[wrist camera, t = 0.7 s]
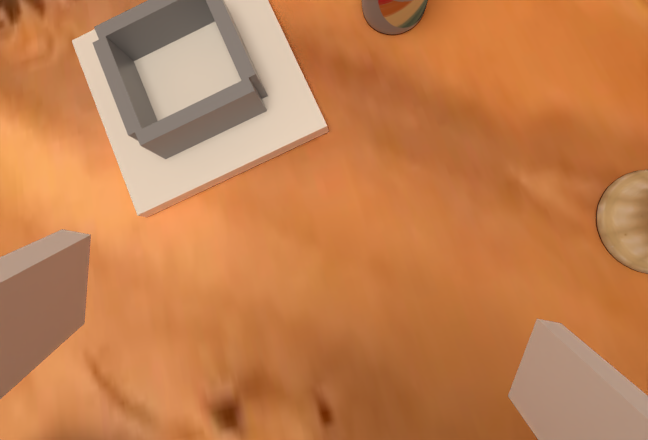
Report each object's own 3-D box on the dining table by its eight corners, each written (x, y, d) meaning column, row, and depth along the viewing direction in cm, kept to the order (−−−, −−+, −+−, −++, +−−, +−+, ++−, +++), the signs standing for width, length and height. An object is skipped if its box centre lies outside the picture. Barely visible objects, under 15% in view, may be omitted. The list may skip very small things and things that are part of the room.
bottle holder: (328, 131, 35) (322, 107, 30) (147, 217, 36) (108, 208, 31) (250, -34, 38) (231, -85, 32) (83, 49, 39) (36, 13, 33)
